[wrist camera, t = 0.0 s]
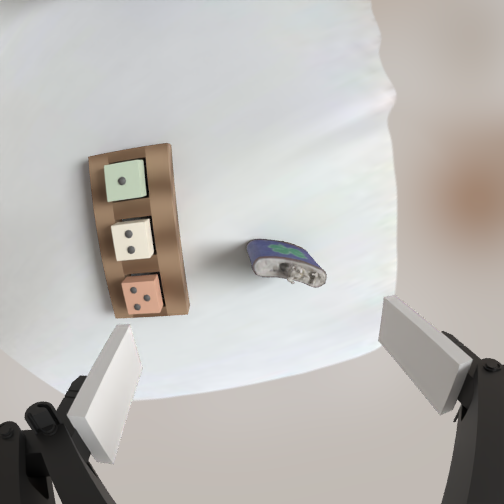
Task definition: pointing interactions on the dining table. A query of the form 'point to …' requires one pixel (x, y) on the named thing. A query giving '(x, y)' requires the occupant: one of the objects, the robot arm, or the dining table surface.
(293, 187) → the dining table surface
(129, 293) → the three-pip tile
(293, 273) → the flask
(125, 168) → the tile
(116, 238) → the tile
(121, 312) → the board
